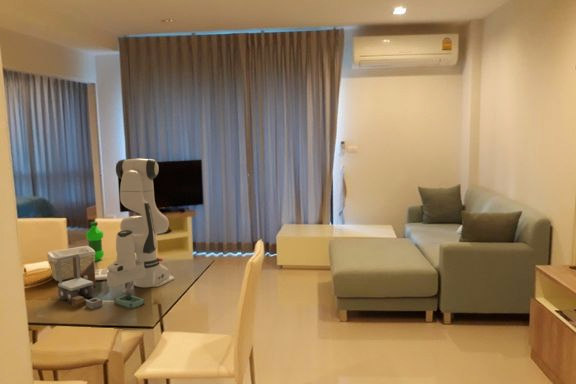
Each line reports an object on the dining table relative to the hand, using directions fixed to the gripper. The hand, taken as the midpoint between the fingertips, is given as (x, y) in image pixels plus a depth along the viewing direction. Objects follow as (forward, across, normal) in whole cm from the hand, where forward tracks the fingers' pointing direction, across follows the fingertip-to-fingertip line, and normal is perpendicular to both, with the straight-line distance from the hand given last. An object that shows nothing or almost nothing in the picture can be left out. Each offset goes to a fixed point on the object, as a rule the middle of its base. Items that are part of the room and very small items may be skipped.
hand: (127, 290), depth 237 cm
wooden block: (+7, -2, -41) cm, 42 cm away
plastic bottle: (+7, -37, -84) cm, 92 cm away
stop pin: (+5, 0, +1) cm, 5 cm away
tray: (+7, -1, 0) cm, 7 cm away
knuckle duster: (+8, -17, -50) cm, 53 cm away
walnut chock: (+7, +16, -19) cm, 25 cm away
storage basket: (+7, -10, -67) cm, 68 cm away
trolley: (+7, +10, -23) cm, 26 cm away
